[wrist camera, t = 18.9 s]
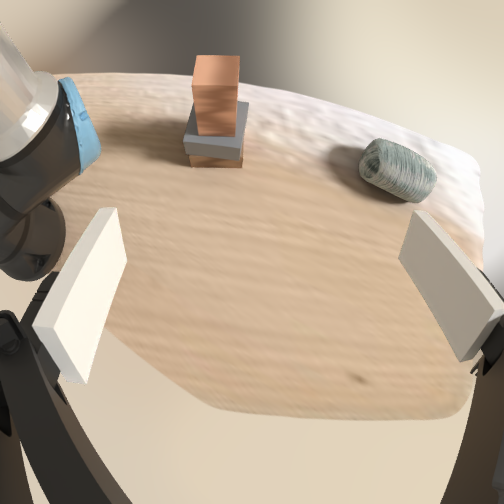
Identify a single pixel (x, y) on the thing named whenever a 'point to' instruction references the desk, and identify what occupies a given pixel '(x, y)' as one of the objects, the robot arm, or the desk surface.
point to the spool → (397, 170)
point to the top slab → (216, 138)
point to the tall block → (216, 94)
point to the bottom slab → (215, 161)
